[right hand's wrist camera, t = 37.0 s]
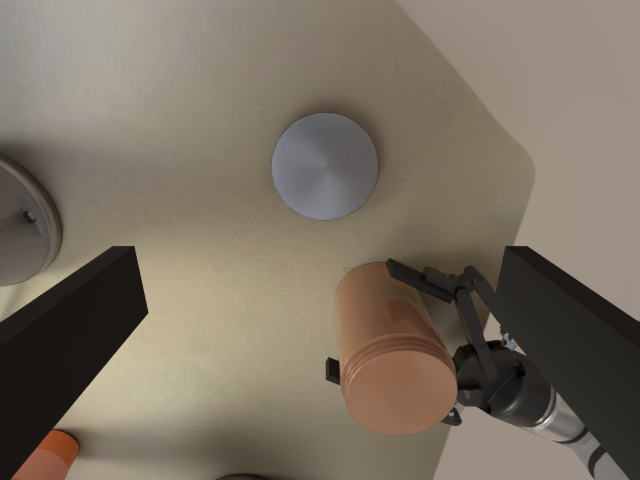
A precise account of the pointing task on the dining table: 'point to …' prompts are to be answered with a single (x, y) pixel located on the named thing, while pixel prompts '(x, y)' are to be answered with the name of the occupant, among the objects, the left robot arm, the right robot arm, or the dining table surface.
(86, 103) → the dining table surface
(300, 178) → the lid
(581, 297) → the right robot arm
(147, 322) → the dining table surface
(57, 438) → the cup with straw
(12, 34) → the dining table surface
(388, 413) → the jar
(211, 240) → the dining table surface
